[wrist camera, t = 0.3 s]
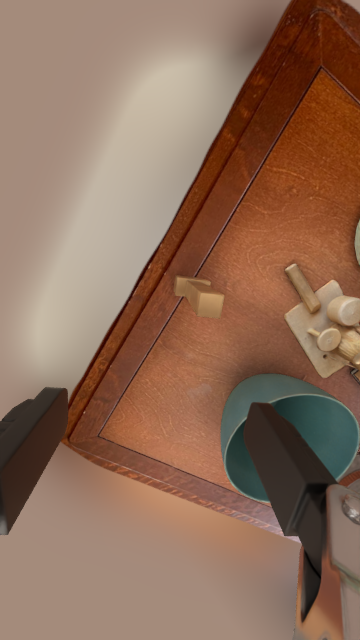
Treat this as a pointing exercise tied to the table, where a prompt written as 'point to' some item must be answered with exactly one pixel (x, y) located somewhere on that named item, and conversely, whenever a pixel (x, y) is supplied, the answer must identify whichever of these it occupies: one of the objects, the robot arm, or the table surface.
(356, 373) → the book
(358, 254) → the bowl
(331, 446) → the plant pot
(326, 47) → the table surface
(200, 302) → the stick
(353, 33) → the table surface
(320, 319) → the wooden toy
